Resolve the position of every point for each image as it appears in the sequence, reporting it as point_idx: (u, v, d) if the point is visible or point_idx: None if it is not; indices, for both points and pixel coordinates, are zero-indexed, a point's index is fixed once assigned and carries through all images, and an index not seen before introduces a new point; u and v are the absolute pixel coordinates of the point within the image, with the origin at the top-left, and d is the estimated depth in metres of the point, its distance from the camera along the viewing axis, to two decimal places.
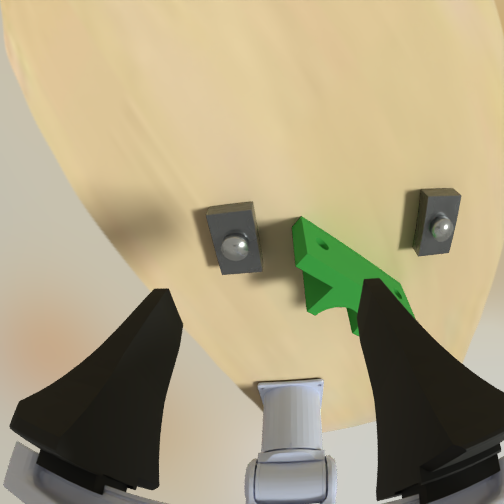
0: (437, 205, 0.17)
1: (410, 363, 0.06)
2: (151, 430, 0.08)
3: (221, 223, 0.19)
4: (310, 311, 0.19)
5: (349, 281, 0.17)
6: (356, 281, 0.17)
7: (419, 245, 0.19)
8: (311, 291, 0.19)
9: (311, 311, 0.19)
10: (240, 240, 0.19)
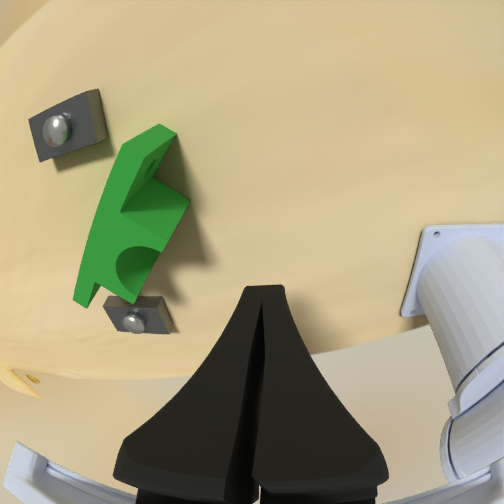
0: (42, 146, 0.13)
1: (264, 377, 0.06)
2: (257, 440, 0.07)
3: (120, 324, 0.21)
4: (132, 301, 0.15)
5: (82, 267, 0.14)
6: (83, 257, 0.14)
7: None
8: None
9: (132, 300, 0.15)
10: (123, 321, 0.20)
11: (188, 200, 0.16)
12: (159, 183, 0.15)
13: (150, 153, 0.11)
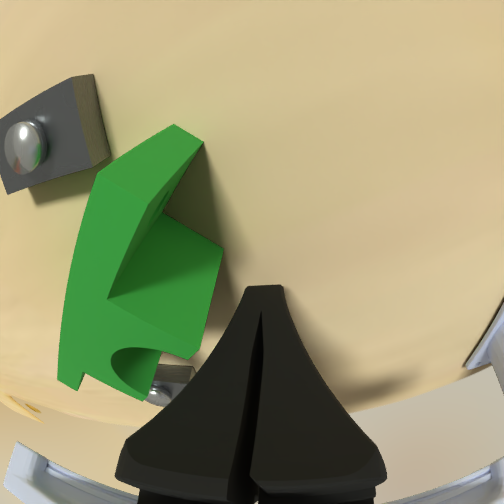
0: (9, 170, 0.07)
1: (263, 378, 0.06)
2: None
3: None
4: (140, 398, 0.09)
5: (62, 354, 0.08)
6: (61, 341, 0.08)
7: None
8: None
9: (140, 397, 0.09)
10: None
11: (219, 251, 0.10)
12: (172, 224, 0.10)
13: (160, 189, 0.05)
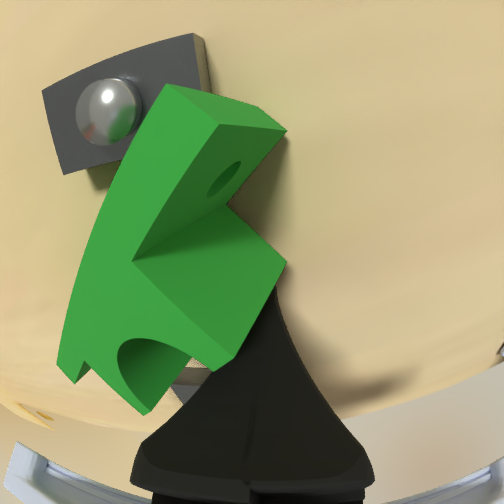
0: (71, 144, 0.07)
1: (252, 378, 0.06)
2: None
3: None
4: (142, 411, 0.07)
5: (67, 332, 0.07)
6: (69, 316, 0.07)
7: None
8: None
9: (142, 410, 0.07)
10: None
11: (282, 263, 0.09)
12: (234, 219, 0.09)
13: (236, 128, 0.04)
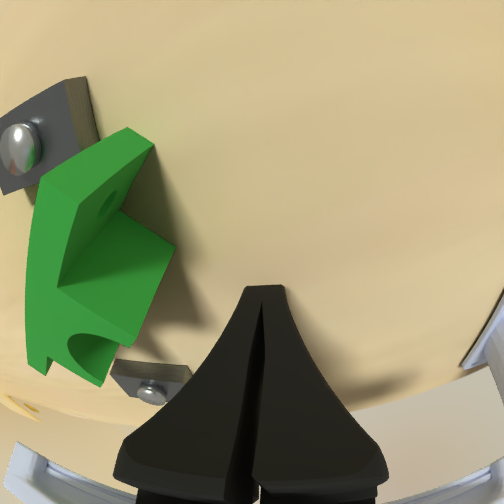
0: (4, 172, 0.07)
1: (264, 378, 0.06)
2: (257, 441, 0.07)
3: (133, 392, 0.16)
4: (98, 384, 0.09)
5: (29, 338, 0.08)
6: (27, 326, 0.08)
7: None
8: None
9: (97, 383, 0.09)
10: (137, 393, 0.15)
11: (172, 247, 0.10)
12: (128, 220, 0.10)
13: (95, 191, 0.05)
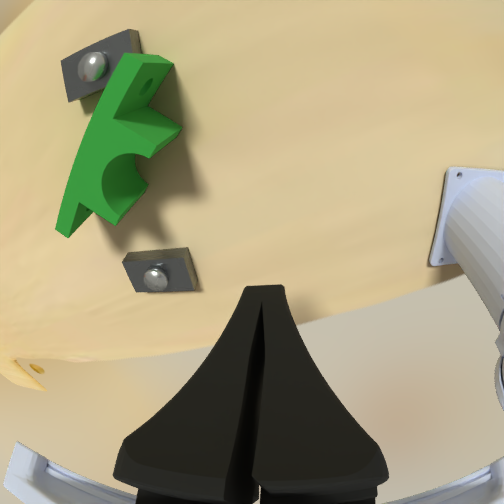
0: (74, 85, 0.12)
1: (264, 378, 0.06)
2: (257, 441, 0.07)
3: (139, 283, 0.21)
4: (114, 222, 0.14)
5: (68, 185, 0.13)
6: (71, 175, 0.13)
7: None
8: None
9: (114, 220, 0.14)
10: (144, 276, 0.20)
11: (180, 126, 0.15)
12: (153, 110, 0.14)
13: (148, 63, 0.10)
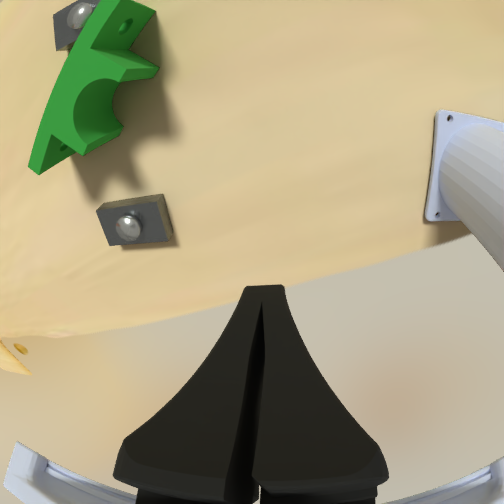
0: (63, 35, 0.11)
1: (264, 377, 0.06)
2: (257, 441, 0.07)
3: (113, 235, 0.19)
4: (82, 151, 0.12)
5: (44, 118, 0.11)
6: (47, 108, 0.11)
7: None
8: None
9: (82, 150, 0.12)
10: (116, 224, 0.18)
11: (157, 67, 0.13)
12: (133, 53, 0.13)
13: (128, 0, 0.08)
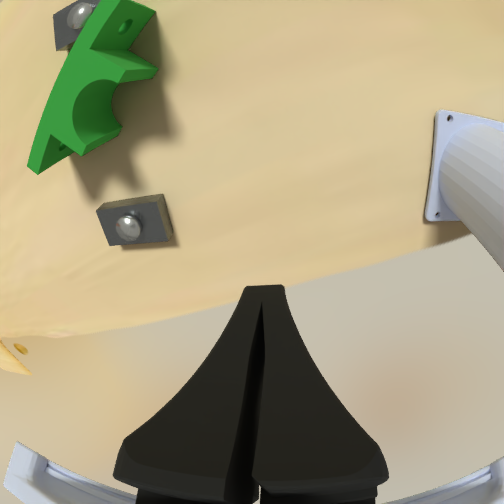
0: (63, 35, 0.11)
1: (264, 377, 0.06)
2: (257, 441, 0.07)
3: (113, 235, 0.19)
4: (81, 152, 0.12)
5: (43, 118, 0.11)
6: (46, 108, 0.11)
7: None
8: None
9: (81, 150, 0.12)
10: (116, 224, 0.18)
11: (156, 67, 0.13)
12: (132, 53, 0.13)
13: (128, 1, 0.08)
